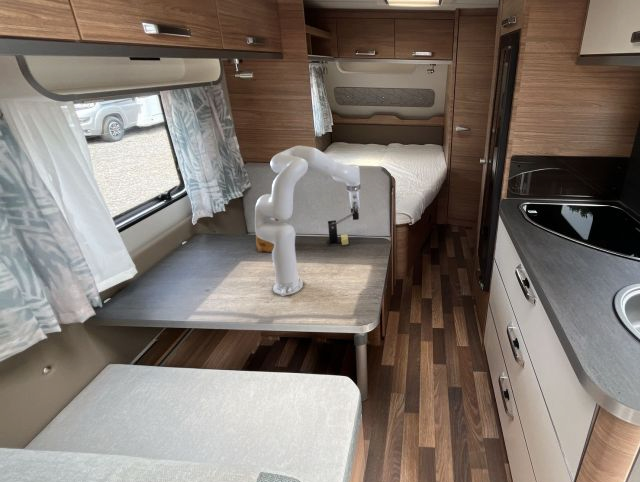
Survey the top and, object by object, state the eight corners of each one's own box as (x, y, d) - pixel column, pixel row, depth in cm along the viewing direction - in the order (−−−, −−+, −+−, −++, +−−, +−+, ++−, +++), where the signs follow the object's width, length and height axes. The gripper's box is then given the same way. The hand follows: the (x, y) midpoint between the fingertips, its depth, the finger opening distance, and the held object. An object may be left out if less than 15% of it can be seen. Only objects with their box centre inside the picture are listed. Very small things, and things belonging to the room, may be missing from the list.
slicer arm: (358, 213, 191) (355, 208, 189) (358, 215, 188) (356, 210, 187) (331, 227, 189) (328, 223, 188) (331, 229, 186) (328, 225, 185)
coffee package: (262, 243, 189) (256, 207, 181) (284, 243, 189) (279, 207, 181) (254, 252, 179) (248, 215, 171) (278, 252, 180) (272, 215, 172)
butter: (348, 245, 188) (348, 239, 187) (342, 246, 187) (341, 240, 186) (347, 240, 195) (347, 233, 193) (341, 240, 194) (340, 234, 192)
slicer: (337, 239, 194) (336, 219, 190) (338, 244, 189) (337, 224, 185) (328, 240, 193) (327, 220, 189) (329, 245, 188) (327, 225, 183)
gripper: (362, 192, 176) (363, 221, 182) (358, 182, 192) (359, 209, 198) (347, 193, 174) (349, 223, 180) (345, 183, 190) (346, 211, 196)
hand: (354, 216), depth 189 cm, fingers open, 9 cm apart
